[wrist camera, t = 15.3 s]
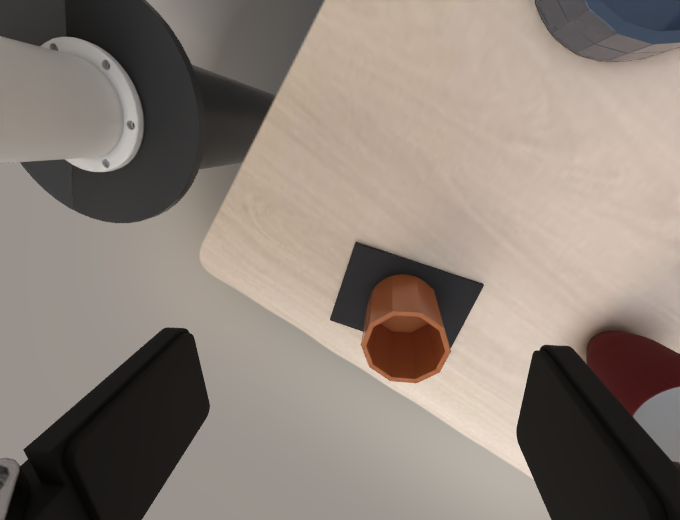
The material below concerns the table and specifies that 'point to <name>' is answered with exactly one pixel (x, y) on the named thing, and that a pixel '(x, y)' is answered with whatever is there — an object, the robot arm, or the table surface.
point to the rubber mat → (378, 265)
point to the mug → (642, 383)
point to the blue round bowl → (613, 27)
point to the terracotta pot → (404, 330)
